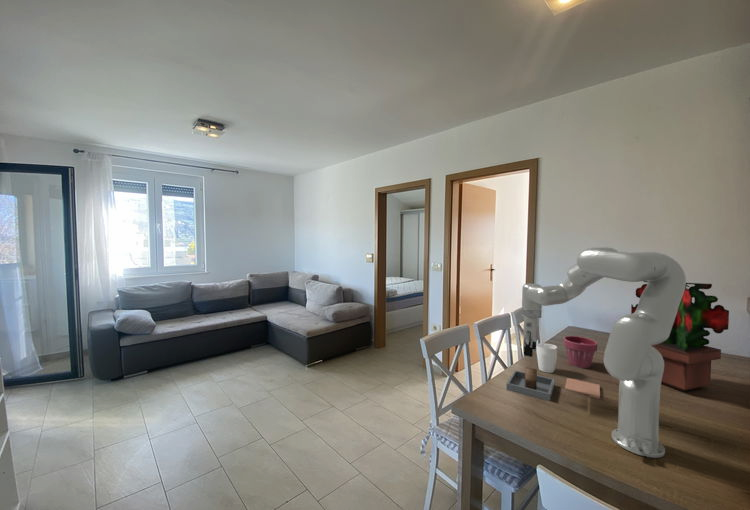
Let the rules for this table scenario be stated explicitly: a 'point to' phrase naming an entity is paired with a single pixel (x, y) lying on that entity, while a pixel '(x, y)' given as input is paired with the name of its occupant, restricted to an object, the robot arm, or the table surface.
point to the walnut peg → (531, 378)
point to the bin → (518, 385)
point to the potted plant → (691, 339)
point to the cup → (546, 357)
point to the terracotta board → (583, 387)
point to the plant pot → (580, 350)
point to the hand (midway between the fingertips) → (530, 352)
